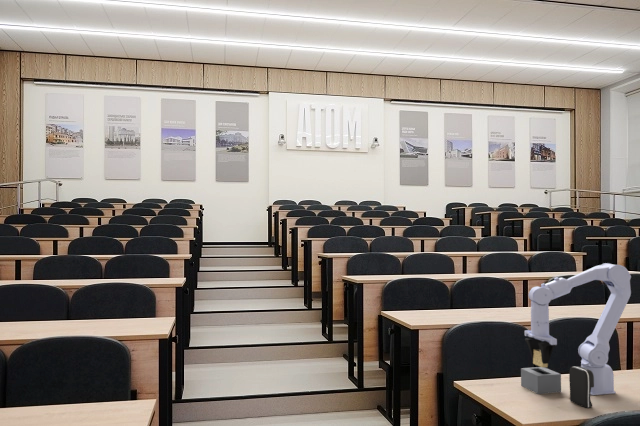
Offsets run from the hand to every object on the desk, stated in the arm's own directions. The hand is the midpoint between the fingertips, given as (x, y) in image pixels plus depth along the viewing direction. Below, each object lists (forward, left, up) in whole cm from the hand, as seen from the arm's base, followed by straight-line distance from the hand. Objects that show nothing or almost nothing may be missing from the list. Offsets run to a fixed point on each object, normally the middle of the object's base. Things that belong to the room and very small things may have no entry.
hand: (540, 361), depth 169 cm
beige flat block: (0, 0, -1) cm, 1 cm away
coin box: (0, 0, -9) cm, 9 cm away
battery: (-3, +16, -10) cm, 19 cm away
